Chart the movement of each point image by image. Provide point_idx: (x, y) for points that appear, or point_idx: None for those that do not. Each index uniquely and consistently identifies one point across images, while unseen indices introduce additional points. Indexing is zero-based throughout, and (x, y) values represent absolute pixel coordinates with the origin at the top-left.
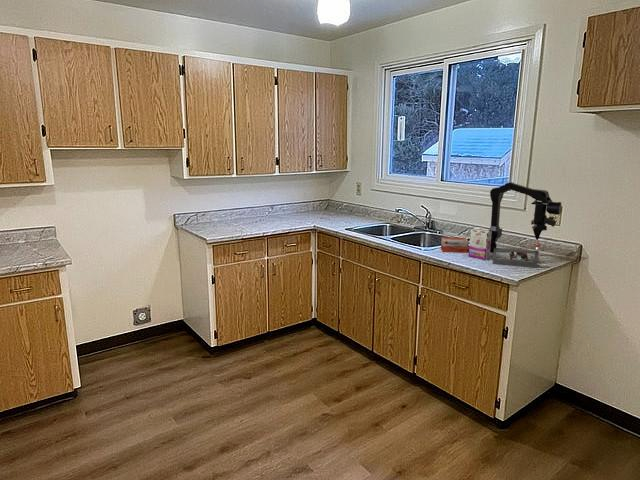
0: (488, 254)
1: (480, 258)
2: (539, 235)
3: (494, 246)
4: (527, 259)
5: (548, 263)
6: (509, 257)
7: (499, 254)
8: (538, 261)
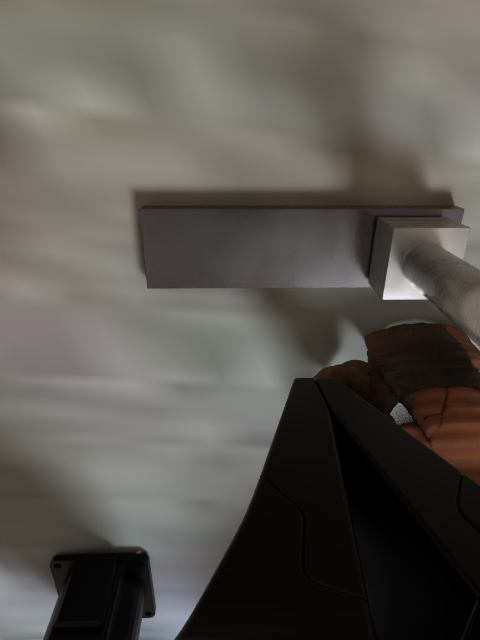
0: None
1: None
2: (434, 458)
3: (114, 618)
4: (473, 354)
5: (427, 88)
6: None
7: (180, 525)
8: None
